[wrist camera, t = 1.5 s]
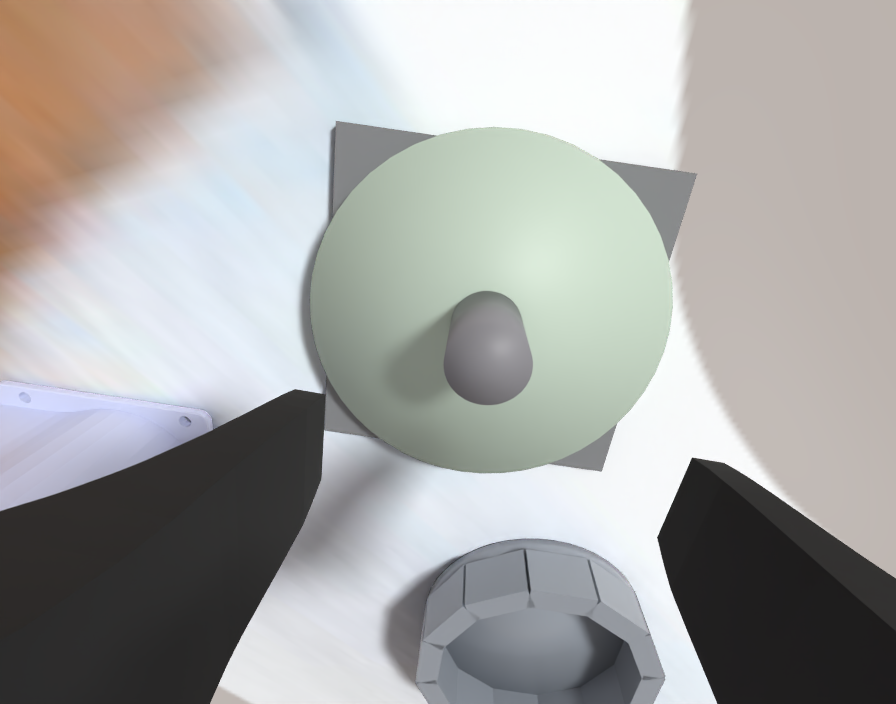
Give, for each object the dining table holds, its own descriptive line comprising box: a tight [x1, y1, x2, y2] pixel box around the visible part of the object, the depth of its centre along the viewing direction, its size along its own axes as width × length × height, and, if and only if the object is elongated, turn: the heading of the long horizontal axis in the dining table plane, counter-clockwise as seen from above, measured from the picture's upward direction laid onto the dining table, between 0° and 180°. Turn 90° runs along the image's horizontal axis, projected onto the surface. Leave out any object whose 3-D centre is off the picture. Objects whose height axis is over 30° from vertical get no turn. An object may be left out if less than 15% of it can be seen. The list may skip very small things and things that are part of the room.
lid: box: [310, 127, 673, 473], centre depth 16 cm, size 13×13×4 cm
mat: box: [325, 121, 697, 471], centre depth 18 cm, size 12×12×1 cm
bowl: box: [415, 539, 665, 704], centre depth 23 cm, size 11×11×3 cm
